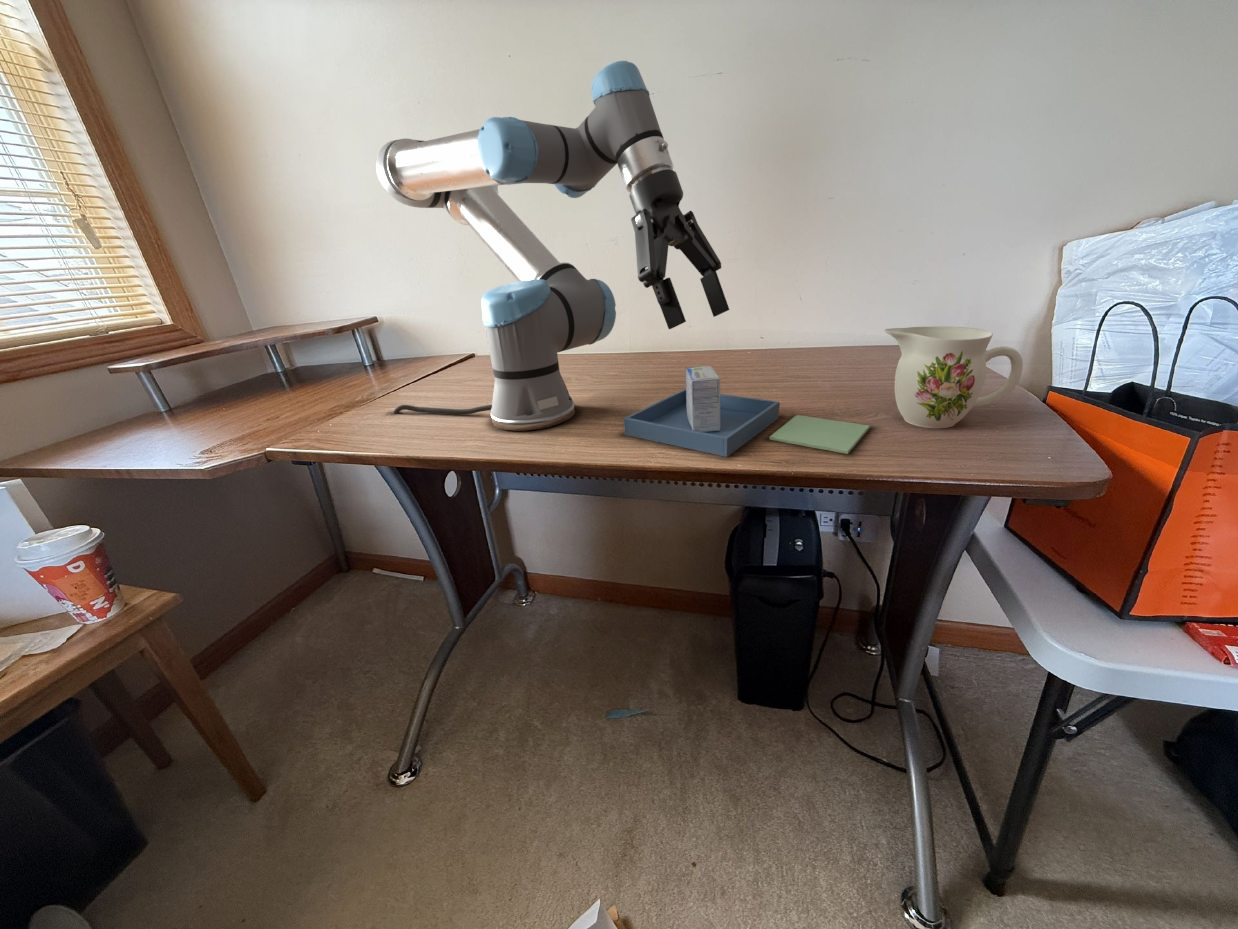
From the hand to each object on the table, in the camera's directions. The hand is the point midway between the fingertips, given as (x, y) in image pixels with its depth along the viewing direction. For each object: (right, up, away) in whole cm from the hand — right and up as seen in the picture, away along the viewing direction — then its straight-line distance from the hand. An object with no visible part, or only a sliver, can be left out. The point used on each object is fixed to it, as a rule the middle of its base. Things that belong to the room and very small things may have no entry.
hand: (700, 319), depth 74 cm
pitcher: (+36, -16, -1) cm, 39 cm away
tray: (+1, -16, +4) cm, 17 cm away
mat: (+17, -18, -3) cm, 25 cm away
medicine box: (+1, -16, +4) cm, 17 cm away
